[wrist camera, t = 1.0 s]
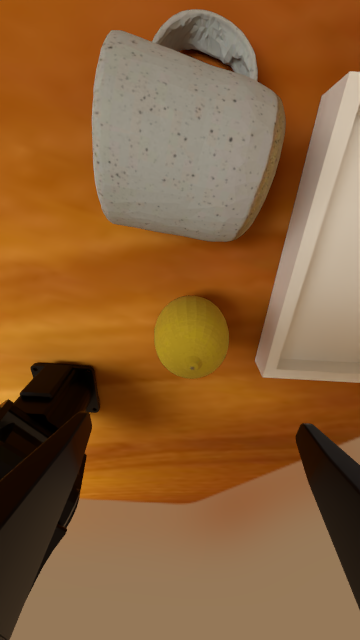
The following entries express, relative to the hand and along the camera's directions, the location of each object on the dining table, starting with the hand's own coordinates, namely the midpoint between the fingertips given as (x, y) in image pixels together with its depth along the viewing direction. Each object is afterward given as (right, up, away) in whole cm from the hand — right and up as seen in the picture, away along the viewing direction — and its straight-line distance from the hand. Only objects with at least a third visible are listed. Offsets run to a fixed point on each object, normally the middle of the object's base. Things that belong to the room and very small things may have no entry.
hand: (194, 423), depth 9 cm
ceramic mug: (0, +16, +6) cm, 17 cm away
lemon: (0, +5, +11) cm, 12 cm away
